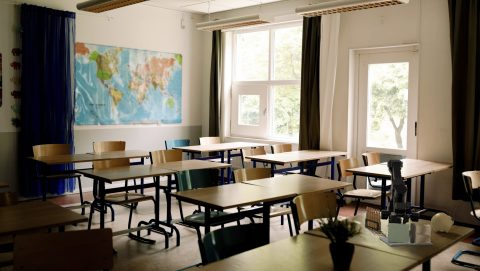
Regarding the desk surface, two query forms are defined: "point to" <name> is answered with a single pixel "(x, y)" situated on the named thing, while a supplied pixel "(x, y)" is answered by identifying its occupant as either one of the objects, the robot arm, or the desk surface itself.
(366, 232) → the desk surface
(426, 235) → the fixed fence panel
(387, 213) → the robot arm
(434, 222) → the cream rounded piece
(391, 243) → the card
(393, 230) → the panel
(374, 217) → the ammunition clip
